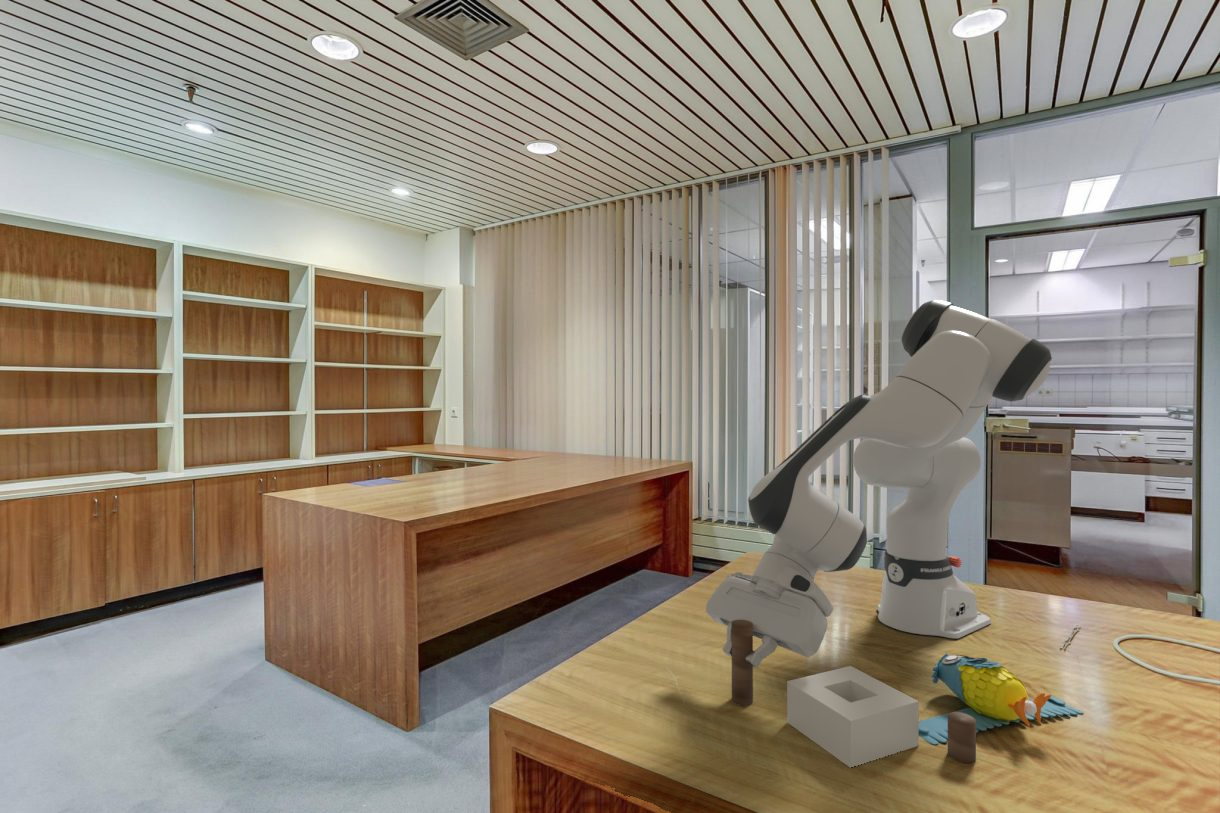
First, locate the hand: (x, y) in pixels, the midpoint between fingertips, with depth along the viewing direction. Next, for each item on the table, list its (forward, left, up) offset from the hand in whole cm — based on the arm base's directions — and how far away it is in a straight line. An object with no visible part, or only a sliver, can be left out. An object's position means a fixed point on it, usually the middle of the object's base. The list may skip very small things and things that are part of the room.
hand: (739, 659), depth 95 cm
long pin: (-1, 0, -7) cm, 7 cm away
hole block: (-9, +14, -7) cm, 18 cm away
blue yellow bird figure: (-31, +18, -7) cm, 36 cm away
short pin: (-18, +24, -7) cm, 30 cm away
